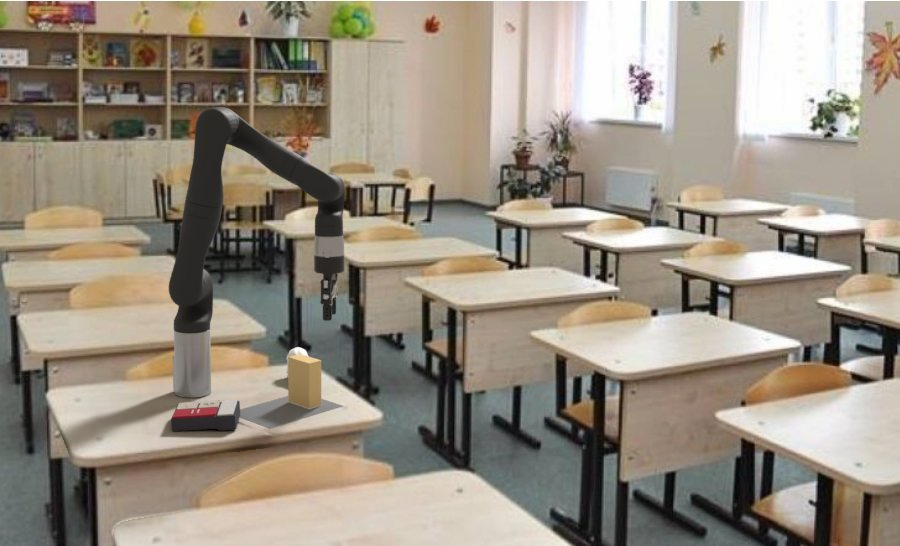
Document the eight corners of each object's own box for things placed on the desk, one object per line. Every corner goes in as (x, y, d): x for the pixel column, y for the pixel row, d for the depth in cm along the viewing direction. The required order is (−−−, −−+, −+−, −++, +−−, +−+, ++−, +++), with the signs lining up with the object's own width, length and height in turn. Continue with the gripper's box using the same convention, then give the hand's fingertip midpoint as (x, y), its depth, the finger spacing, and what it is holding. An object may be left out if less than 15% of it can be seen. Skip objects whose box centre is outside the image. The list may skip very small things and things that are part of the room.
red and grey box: (177, 401, 260) (239, 397, 261) (179, 417, 261) (240, 413, 262) (169, 416, 249) (234, 412, 250) (171, 434, 250) (236, 429, 251)
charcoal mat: (228, 414, 263) (228, 412, 263) (301, 393, 281) (301, 391, 281) (270, 430, 253) (270, 428, 253) (343, 407, 271) (343, 405, 271)
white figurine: (309, 345, 296) (308, 361, 284) (309, 373, 298) (308, 390, 287) (286, 345, 295) (284, 361, 284) (286, 373, 297) (284, 390, 286)
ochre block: (288, 402, 272) (288, 357, 270) (300, 398, 275) (300, 354, 273) (309, 409, 267) (309, 363, 265) (321, 405, 270) (321, 360, 268)
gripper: (318, 250, 273) (318, 312, 275) (310, 256, 259) (310, 322, 261) (347, 250, 273) (347, 312, 275) (340, 257, 259) (341, 322, 261)
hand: (329, 317), depth 268 cm, fingers open, 8 cm apart
